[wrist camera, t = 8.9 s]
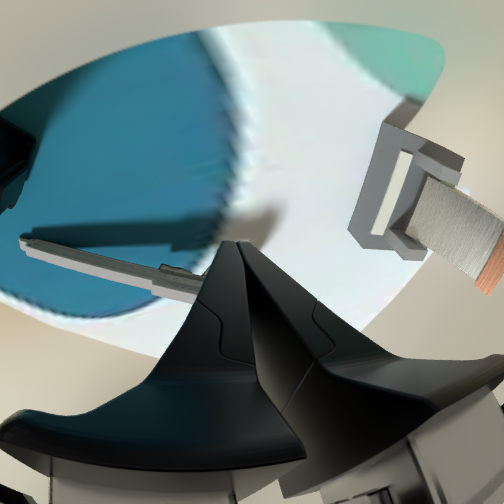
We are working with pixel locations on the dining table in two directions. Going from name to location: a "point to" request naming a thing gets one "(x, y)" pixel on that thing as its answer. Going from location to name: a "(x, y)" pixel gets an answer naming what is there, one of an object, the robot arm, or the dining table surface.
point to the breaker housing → (399, 190)
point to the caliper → (120, 270)
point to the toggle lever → (460, 232)
